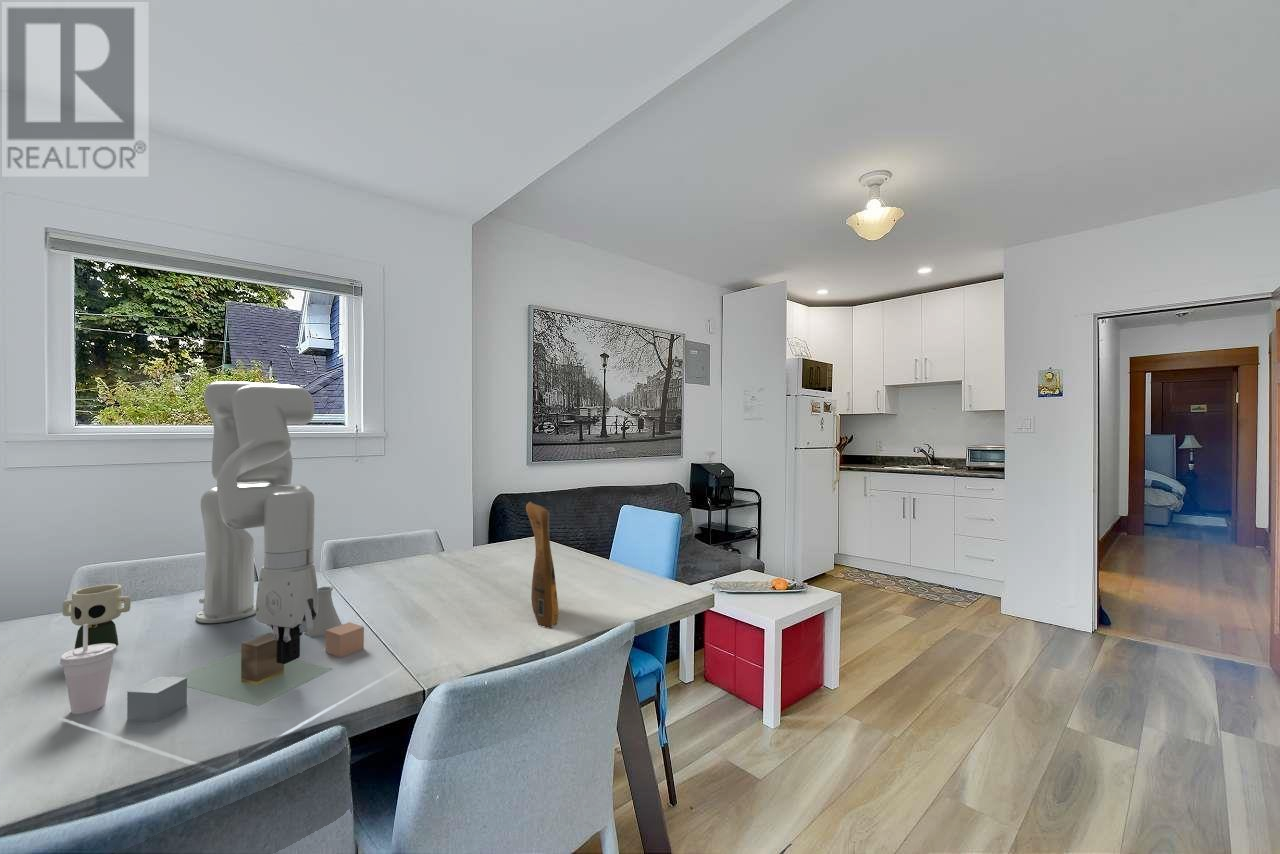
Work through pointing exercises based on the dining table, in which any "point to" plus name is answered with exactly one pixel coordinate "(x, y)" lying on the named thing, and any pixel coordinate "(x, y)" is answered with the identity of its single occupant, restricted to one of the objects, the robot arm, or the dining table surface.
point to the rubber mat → (227, 683)
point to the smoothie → (88, 674)
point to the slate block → (156, 699)
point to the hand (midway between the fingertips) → (288, 660)
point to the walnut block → (260, 660)
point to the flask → (324, 614)
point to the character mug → (97, 612)
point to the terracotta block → (344, 639)
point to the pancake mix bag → (543, 569)
